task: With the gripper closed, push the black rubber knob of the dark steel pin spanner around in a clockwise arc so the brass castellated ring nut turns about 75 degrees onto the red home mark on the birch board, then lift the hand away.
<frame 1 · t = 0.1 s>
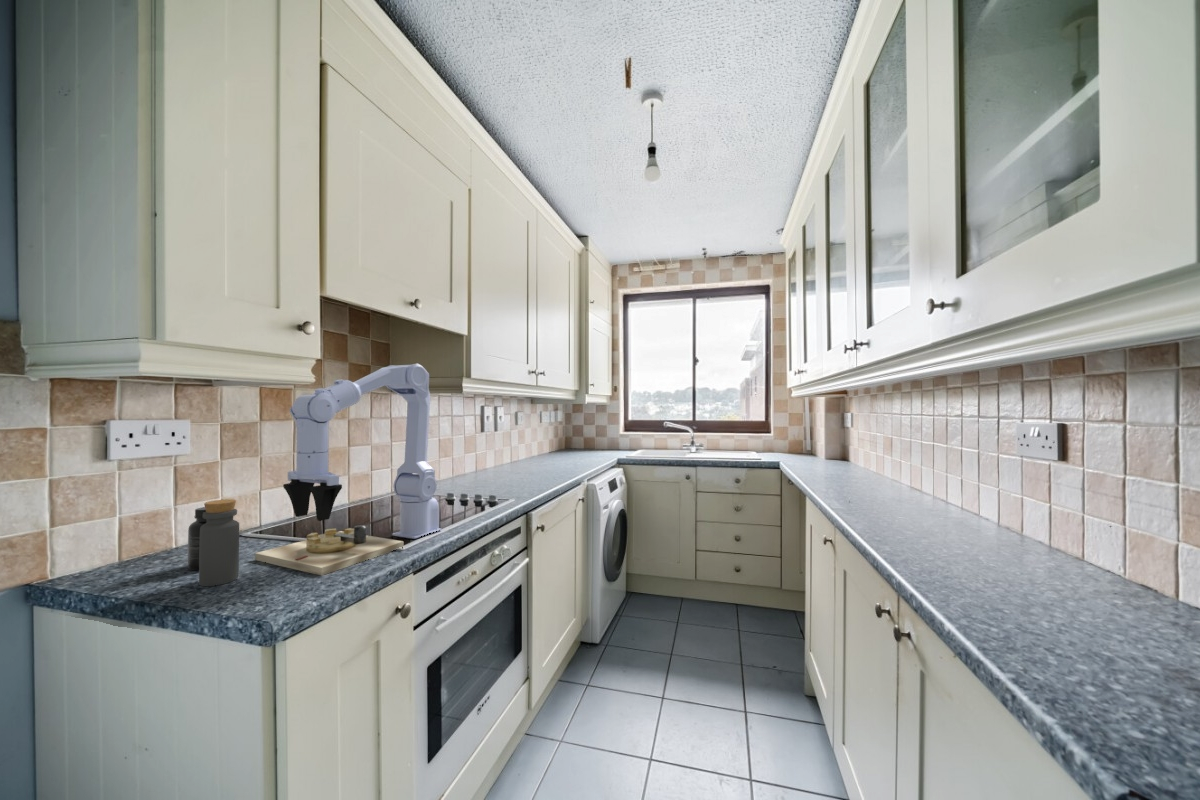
hand: (312, 517, 97), 10 cm above the worktop, tool pointing down, fingers open, 7 cm apart
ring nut: (340, 535, 104), point 4 cm above the worktop, hinge at 0.0°
supplement bottle: (209, 566, 97), on the worktop
base board: (332, 553, 105), on the worktop
bottle: (219, 581, 89), on the worktop
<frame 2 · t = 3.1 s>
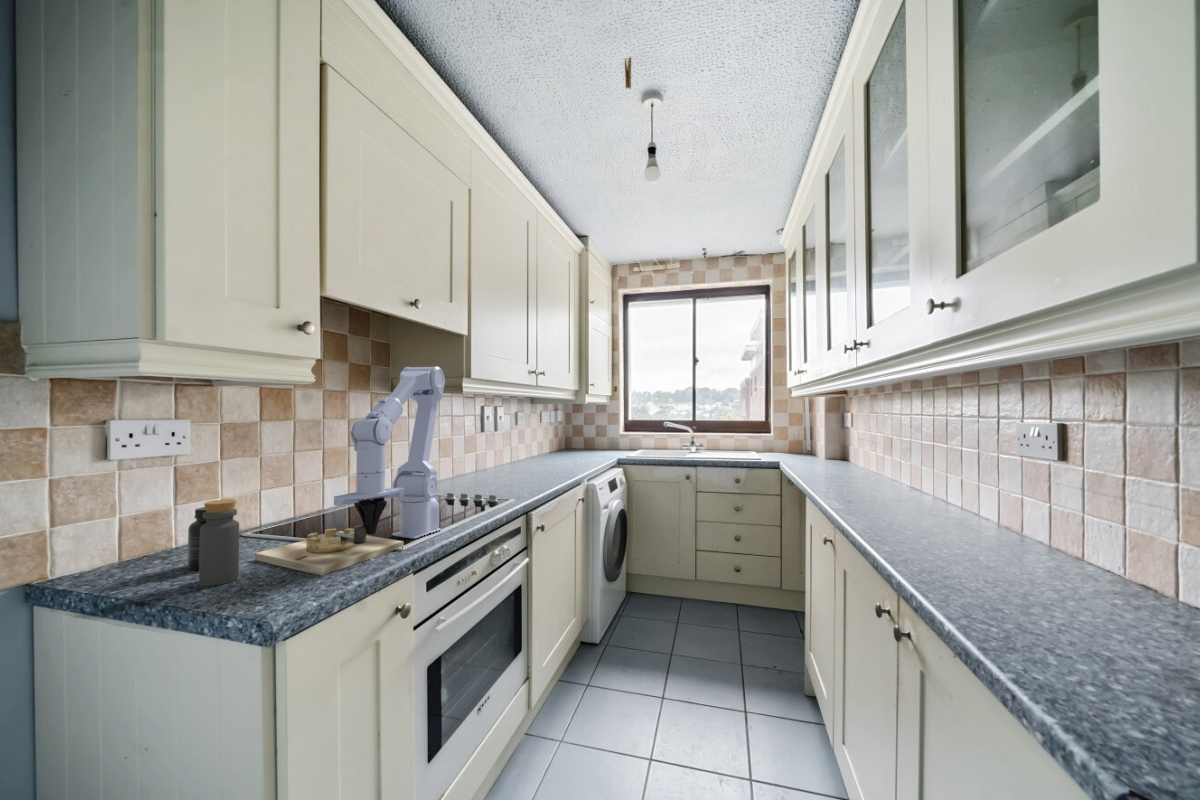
hand: (370, 533, 104), 5 cm above the worktop, tool pointing down, fingers closed
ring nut: (340, 535, 104), point 4 cm above the worktop, hinge at 0.0°, touching gripper
everything else where it was.
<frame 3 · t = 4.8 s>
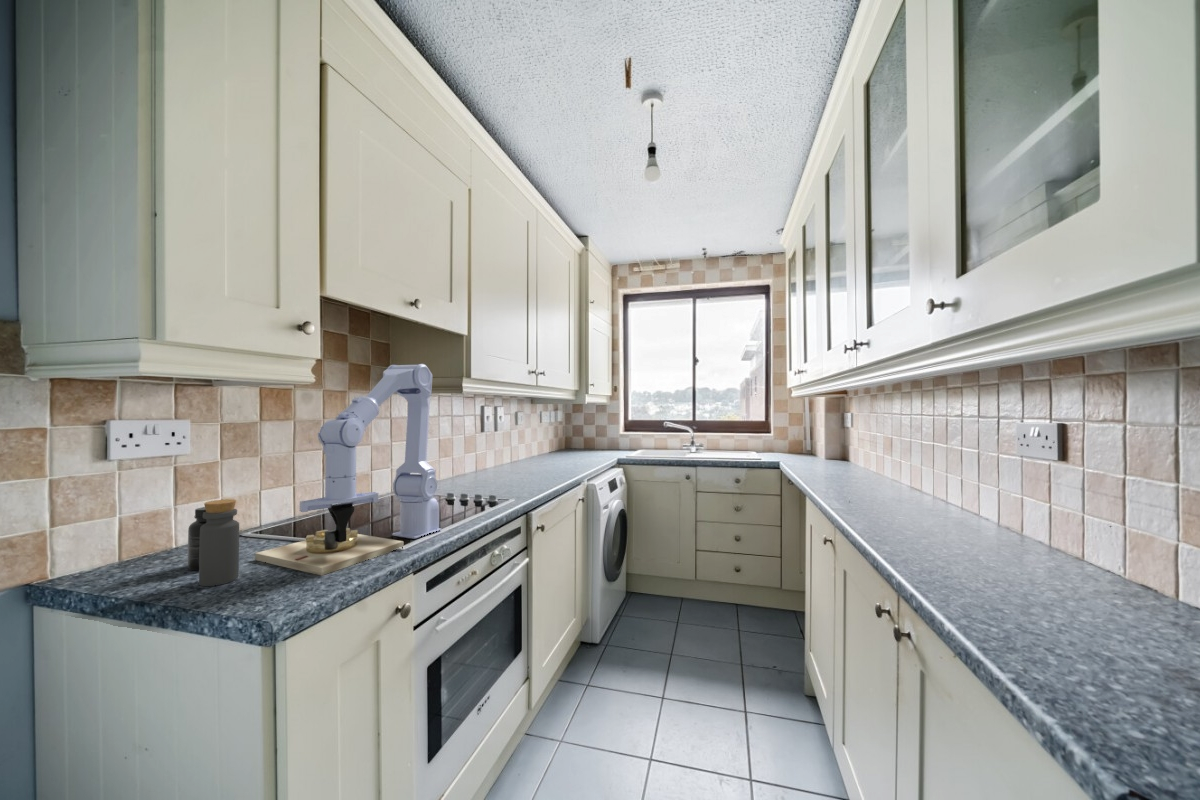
hand: (340, 540, 98), 5 cm above the worktop, tool pointing down, fingers closed, pressing on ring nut
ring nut: (332, 537, 103), point 4 cm above the worktop, hinge at 36.8°, touching gripper
everything else where it was.
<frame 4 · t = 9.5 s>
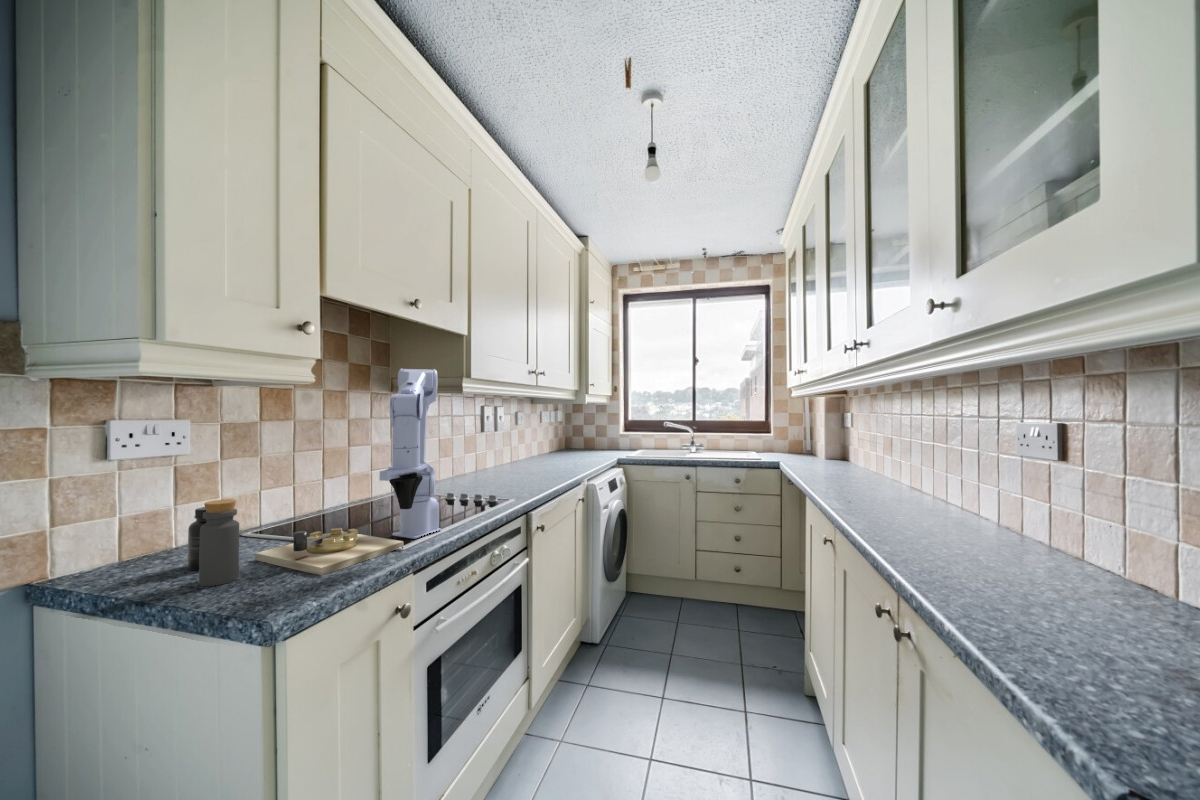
hand: (405, 508, 104), 10 cm above the worktop, tool pointing down, fingers closed
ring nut: (323, 537, 103), point 4 cm above the worktop, hinge at 75.2°
everything else where it was.
at the end: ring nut at +75° (first picture: +0°); bottle moved 0.2 cm from its start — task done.
